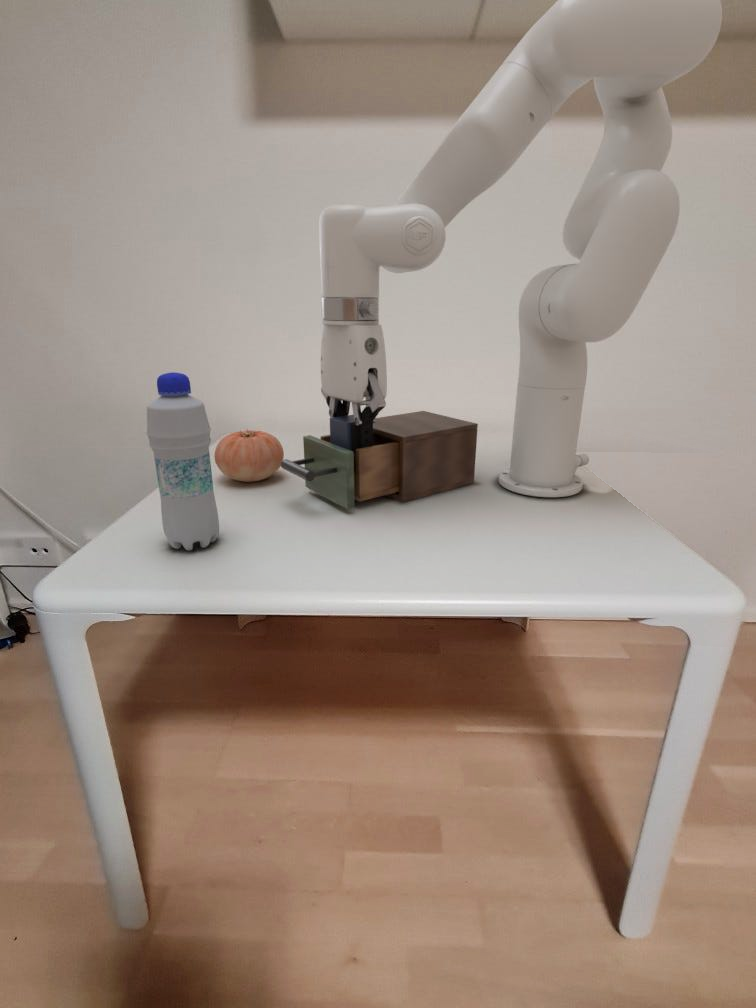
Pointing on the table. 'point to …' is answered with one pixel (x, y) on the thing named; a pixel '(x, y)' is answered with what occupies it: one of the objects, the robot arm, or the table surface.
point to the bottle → (182, 463)
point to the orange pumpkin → (249, 455)
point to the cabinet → (430, 452)
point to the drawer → (348, 469)
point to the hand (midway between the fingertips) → (351, 446)
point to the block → (342, 431)
